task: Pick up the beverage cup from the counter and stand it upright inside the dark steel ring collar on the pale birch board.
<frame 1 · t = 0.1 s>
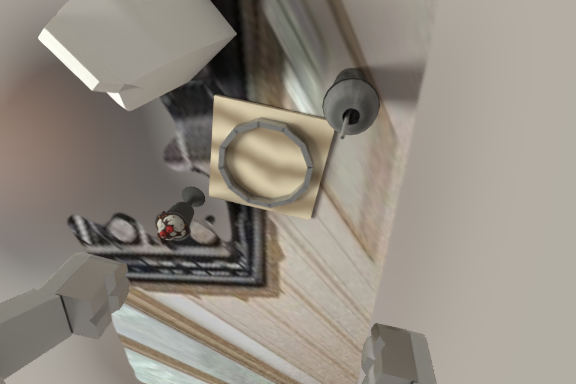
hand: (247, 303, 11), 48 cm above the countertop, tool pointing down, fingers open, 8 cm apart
milk: (185, 26, 52), on the countertop
sundae: (193, 195, 70), on the countertop
beverage cup: (350, 82, 53), on the countertop
ring seat: (267, 161, 63), on the countertop
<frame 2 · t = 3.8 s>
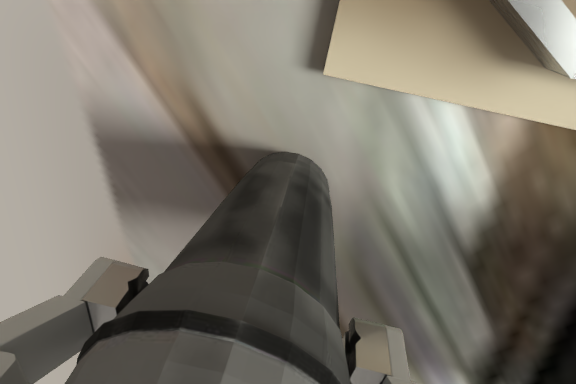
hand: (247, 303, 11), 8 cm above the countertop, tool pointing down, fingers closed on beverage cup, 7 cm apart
beverage cup: (288, 188, 19), on the countertop, touching arm, gripper
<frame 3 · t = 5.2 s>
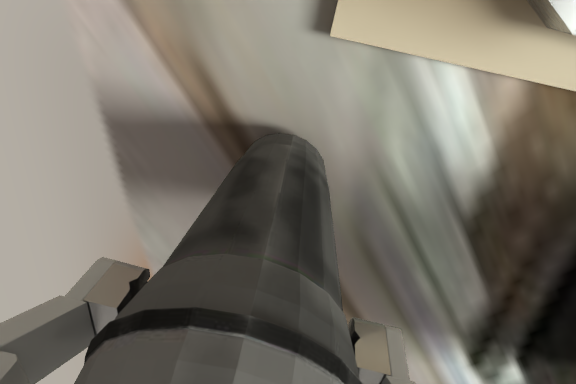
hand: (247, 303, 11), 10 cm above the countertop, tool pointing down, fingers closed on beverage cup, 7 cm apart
beverage cup: (283, 169, 18), point 1 cm above the countertop, touching gripper
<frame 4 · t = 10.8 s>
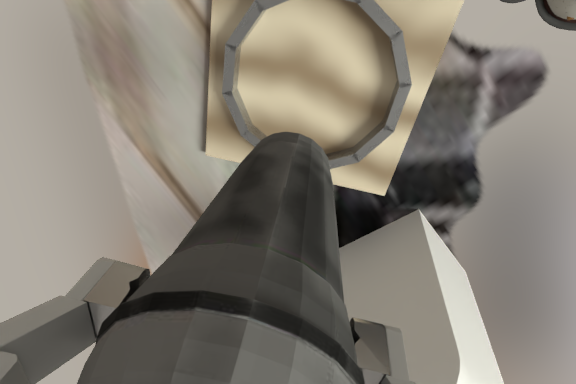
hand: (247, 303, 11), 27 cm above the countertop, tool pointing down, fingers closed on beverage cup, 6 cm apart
milk: (400, 259, 44), on the countertop
beverage cup: (289, 167, 19), point 18 cm above the countertop, touching gripper
ring seat: (314, 82, 33), on the countertop
when the fingers open (10 cm above the countertop, at t = 16.8 s): beverage cup stays where it is, resting on ring seat.
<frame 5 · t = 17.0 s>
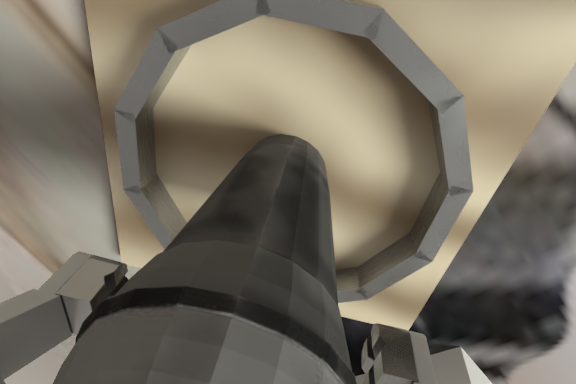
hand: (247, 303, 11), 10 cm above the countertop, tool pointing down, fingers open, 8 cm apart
beverage cup: (285, 171, 18), point 1 cm above the countertop, touching ring seat
ring seat: (290, 165, 19), on the countertop
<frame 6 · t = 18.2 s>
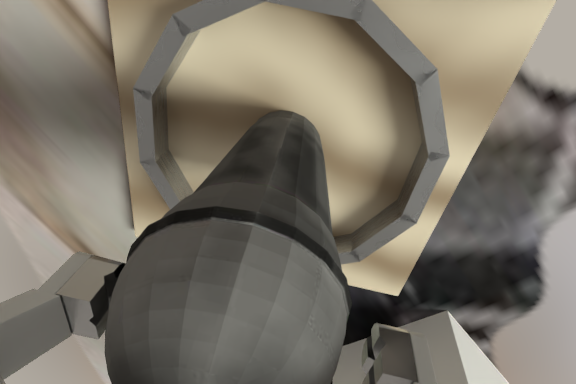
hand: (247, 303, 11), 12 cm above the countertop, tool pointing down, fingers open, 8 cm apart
milk: (418, 364, 32), on the countertop
beverage cup: (284, 144, 21), point 1 cm above the countertop, touching gripper, ring seat
ring seat: (288, 140, 21), on the countertop
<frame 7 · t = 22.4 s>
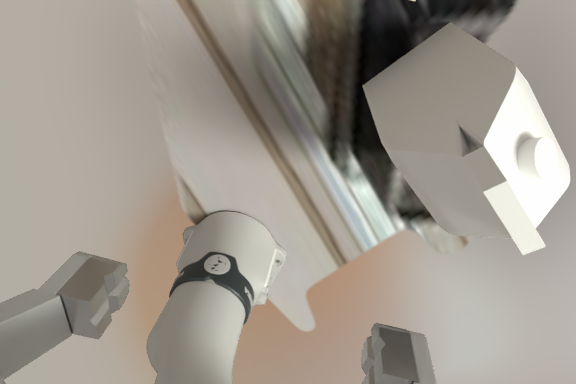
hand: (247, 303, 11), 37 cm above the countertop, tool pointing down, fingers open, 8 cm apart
milk: (428, 95, 42), on the countertop
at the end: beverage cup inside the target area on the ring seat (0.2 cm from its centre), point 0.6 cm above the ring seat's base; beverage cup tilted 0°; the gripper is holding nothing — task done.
